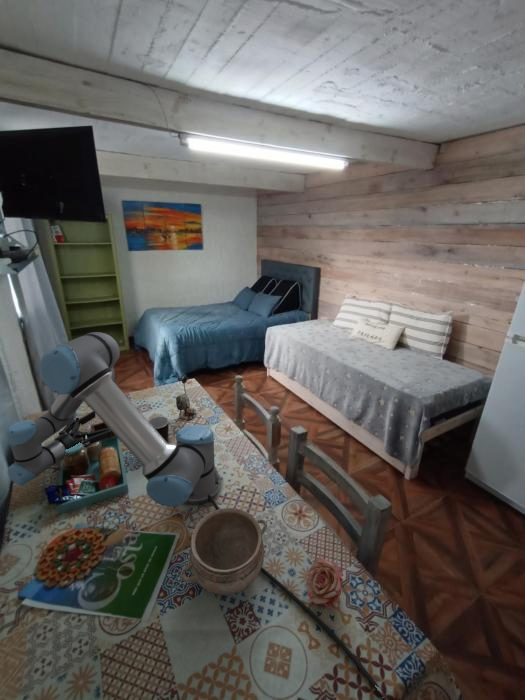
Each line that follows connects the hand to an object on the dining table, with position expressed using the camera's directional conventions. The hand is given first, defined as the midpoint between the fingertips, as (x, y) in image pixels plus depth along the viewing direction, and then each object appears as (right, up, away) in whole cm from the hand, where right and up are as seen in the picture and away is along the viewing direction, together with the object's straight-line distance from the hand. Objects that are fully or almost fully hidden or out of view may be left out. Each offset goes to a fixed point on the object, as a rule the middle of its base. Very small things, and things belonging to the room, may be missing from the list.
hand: (107, 417), depth 131 cm
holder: (-1, -7, +8) cm, 10 cm away
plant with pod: (+29, -4, +20) cm, 35 cm away
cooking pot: (+55, -30, -48) cm, 79 cm away
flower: (+80, -33, -53) cm, 101 cm away
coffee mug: (+22, -10, +2) cm, 24 cm away
